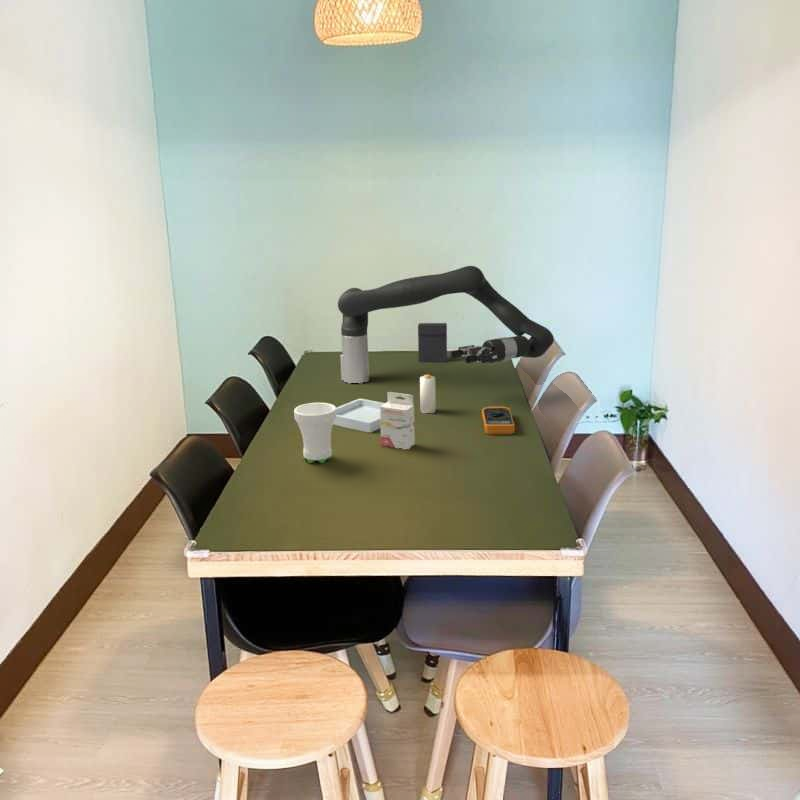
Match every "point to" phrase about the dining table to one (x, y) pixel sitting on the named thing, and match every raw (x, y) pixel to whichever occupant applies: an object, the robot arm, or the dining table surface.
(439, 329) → the dark grey box
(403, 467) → the dining table surface
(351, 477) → the dining table surface
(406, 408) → the ink cartridge box
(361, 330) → the robot arm
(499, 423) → the multimeter
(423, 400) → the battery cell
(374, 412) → the pale blue square tray
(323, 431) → the cup
